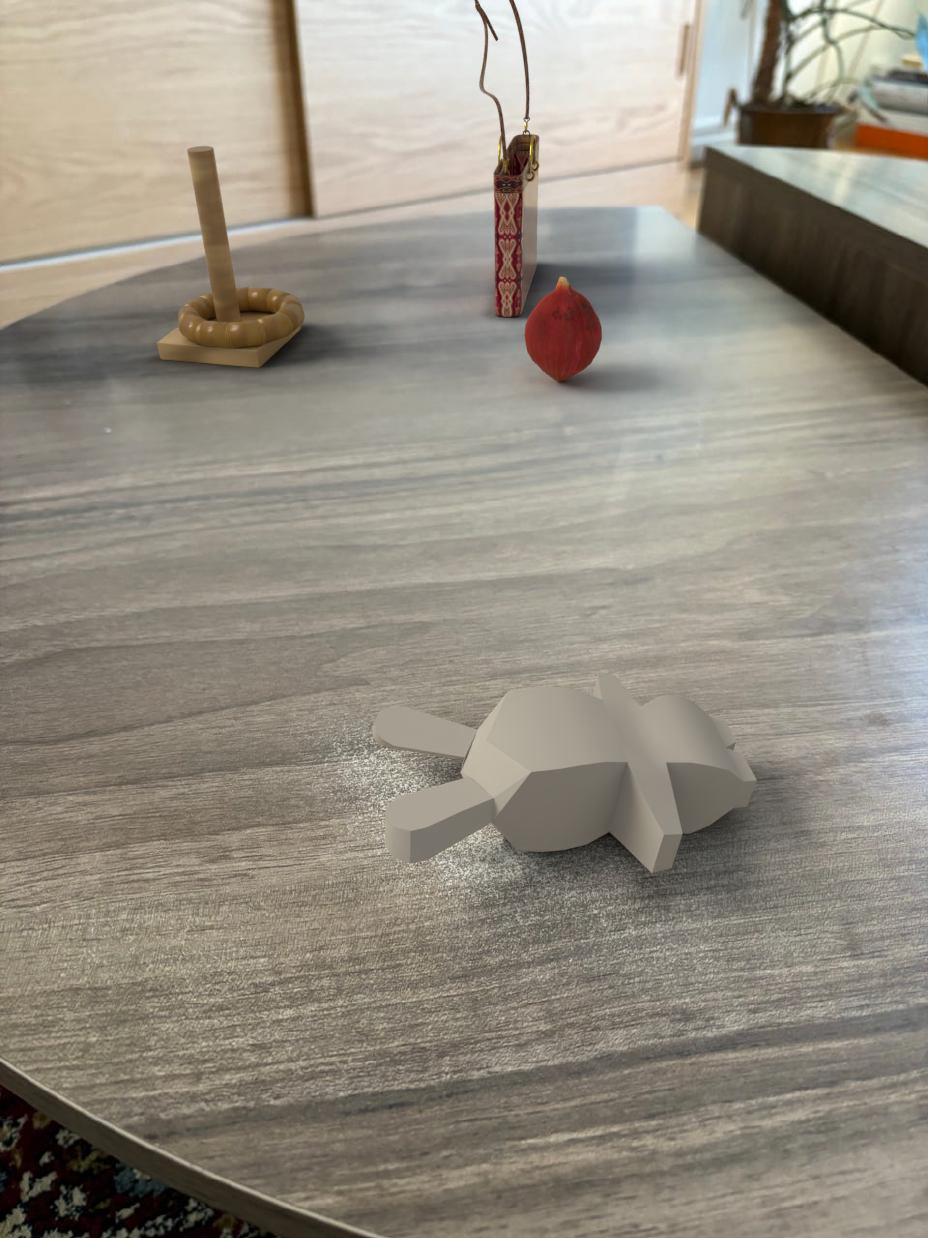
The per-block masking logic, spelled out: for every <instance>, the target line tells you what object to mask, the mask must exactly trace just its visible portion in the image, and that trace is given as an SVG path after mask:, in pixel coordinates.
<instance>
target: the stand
mask: <svg viewBox="0 0 928 1238" xmlns="http://www.w3.org/2000/svg"><path fill="white" fill-rule="evenodd" d="M186 150H187V151H186V152H187V158H188V163H189V169H190V175H191V180H192V186H193V191H194V198H195V203H196V208H197V215H198V220H199V227H200V232H201V239H202V243H203V249H204V254H205V261H206V265H207V272H208V277H209V284H210V290H211V293H212V295H213V301H214V307H215V312H216V317H215V318H211V319H208V321H217V322H230V323H231V322H240V321H249V320H257V319H260V318H263V317H266V316H269V315H272V314H275V313H272V312H260V311H245V312H240V310H239V304H238V298H237V291H236V288H237V286H236V279H235V272H234V267H233V260H232V254H231V248H230V241H229V237H228V229H227V223H226V217H225V212H224V211H225V210H224V205H223V199H222V191H221V186H220V185H221V184H220V179H219V174H218V173H219V172H218V168H217V167H218V166H217V159H216V155H215V148H214V147H213V146H211V145H199V146H192V147H189V148H187V149H186ZM301 330H302V324H301V325H300V326H299V327H298V328H297V329H296V330H295V331H293V332H292V333H291V334H290V335H289V336H287V337H284V338H281V339H278V340H275V341H272V342H270V343H267V344H264V345H257V346H248V347H240V348H222V347H211V346H203V345H200V344H198V343H196V342H194V341H192V340H190V339H188V338H186V337H184V336H183V335H182V334H181V333H180V331H179V327H178V326H177V327H175V328H174V329H173V330H172V331H170V332H168V333H167V334H166V335H165V336H163V337H162V338H161V339H159V340H158V341H157V342H156V344H157V350H158V352H159V353H158V354H159V357H160V358H159V359H160V360H162V361H163V360H164V361H175V362H185V363H186V362H189V363H198V364H210V365H221V366H222V365H223V366H231V367H233V366H234V367H244V368H245V367H246V368H254V369H255V368H257V369H260V368H262V366H263V365H264V364H265V363H266V362H267V361H268V360H270V359H271V357H273V356H274V355H275V354H276V353H277V352H278V351H279V350H280V349H282V347H283V346H284V345H285V344H287V343H288V342H289V341H290V340H291V339H292V338H293V337H294V336H295V335H296V334H297V333H298V332H300V331H301Z"/></svg>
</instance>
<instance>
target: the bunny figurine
mask: <svg viewBox="0 0 928 1238" xmlns="http://www.w3.org/2000/svg"><path fill="white" fill-rule="evenodd" d="M593 688H594V689H593V693H592V694H590V693H588V692H586V691H583V690H581V689H576V688H569V687H561V686H530V687H524V688H517V689H512V690H508V691H506V693H504V695H503V697H502V698H501V700H499V702H498V703H497V704H496V706H495V707H494V708H493V709H492V711H491V712H490V713H489V715H488V716H487V717H486V718H485V720H484V721H483V722H482V723H481V725H479V727H478V728H477V729H476V728H473V727H471V726H468V725H465V724H461V723H458V722H455V721H453V720H449V719H446V718H443V717H440V716H436V715H433V714H430V713H427V712H423V711H421V710H417V709H413V708H411V707H405V706H399V705H394V704H393V705H391V706H388V707H385V708H384V709H382V710H380V711H379V712H378V714H377V716H376V718H375V720H374V721H373V726H372V732H371V733H372V737H373V739H374V740H375V742H376V743H377V744H378V745H379V746H382V747H385V748H389V749H391V750H397V751H402V752H403V751H404V752H410V753H417V754H424V755H429V756H435V757H441V758H448V759H454V760H459V761H462V763H461V768H460V775H461V776H462V777H461V778H459V779H456V780H452V781H449V782H445V783H442V784H439V785H435V786H431V787H427V788H424V789H421V790H417V791H413V792H409V793H406V794H402V795H399V796H398V797H396V798H395V799H393V800H392V801H390V802H388V804H387V806H386V808H385V811H384V820H385V821H384V846H385V848H386V850H387V851H388V853H389V854H390V855H391V856H392V858H393V859H395V860H398V861H401V862H405V863H407V864H409V865H411V864H416V863H419V862H423V861H428V860H430V859H432V858H433V857H436V856H437V855H439V854H440V853H442V852H444V851H445V850H447V849H449V848H452V847H453V846H454V845H456V844H458V843H459V842H462V841H463V840H465V839H467V838H468V837H470V836H471V835H473V834H474V833H477V832H478V831H480V830H482V829H483V828H485V827H487V826H488V825H490V824H492V825H493V826H494V827H495V829H496V830H498V832H499V833H500V834H501V835H503V837H504V838H505V839H506V841H507V842H508V843H509V844H510V845H512V847H513V848H514V849H515V850H516V851H520V852H521V851H523V852H535V853H544V852H557V851H565V850H569V849H573V848H578V847H582V846H587V845H589V844H590V843H593V842H594V841H595V840H597V839H599V838H601V837H603V836H605V835H606V834H608V833H610V834H611V835H612V836H613V837H614V838H615V839H616V840H617V841H618V842H620V844H622V846H624V847H625V849H626V850H628V851H629V852H630V853H631V855H633V856H634V857H635V858H636V859H637V860H638V861H639V862H640V863H641V864H642V865H643V866H644V867H645V868H646V869H647V870H648V871H649V872H650V873H651V874H653V873H658V872H662V871H666V870H670V869H672V868H673V865H674V863H675V860H676V856H677V853H678V850H679V847H680V844H681V840H682V837H683V834H687V835H690V834H692V833H695V832H697V831H700V830H702V829H704V828H706V827H709V826H711V825H712V824H714V823H715V822H717V821H718V820H719V819H721V818H722V817H723V816H725V815H726V814H728V813H729V812H730V811H732V810H733V809H737V808H738V809H739V808H748V805H749V803H750V800H751V799H752V795H753V793H754V789H755V786H756V785H757V781H758V780H757V778H756V775H755V774H754V772H753V770H752V769H751V766H750V765H749V763H748V761H747V759H746V757H745V756H744V754H743V752H741V751H738V750H734V749H735V746H736V745H737V744H736V743H737V740H736V738H735V736H734V735H733V733H732V730H731V729H730V727H729V726H728V723H727V722H726V720H725V717H724V716H723V715H722V716H721V715H720V716H718V715H717V716H713V715H712V716H710V715H709V714H708V713H706V712H705V710H704V709H702V708H701V707H700V706H699V705H698V704H697V703H696V702H695V701H693V700H690V699H688V698H686V697H684V696H682V695H680V694H677V693H676V694H664V695H663V694H662V695H658V696H656V697H655V698H653V699H651V700H650V701H649V700H648V702H646V703H644V704H642V705H641V704H640V703H639V702H638V701H637V700H636V699H635V697H634V696H633V695H632V694H631V693H630V691H629V690H628V689H627V687H625V685H624V684H623V683H622V682H621V681H620V679H619V678H618V677H617V675H615V674H611V673H605V672H604V673H603V672H599V671H598V672H597V675H596V679H595V683H594V687H593Z"/></svg>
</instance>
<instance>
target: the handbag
mask: <svg viewBox="0 0 928 1238" xmlns="http://www.w3.org/2000/svg"><path fill="white" fill-rule="evenodd" d="M508 2H509V5H510V7H511V9H512V13H513V15H514V20H515V23H516V28H517V32H518V36H519V42H520V46H521V47H520V48H521V54H522V60H523V61H522V62H523V69H524V79H525V115H524V117H523V122H524V123H523V124H524V125H523V126H524V130H523V131H522V134H516V135H514V136H513V137H512V139H511V140H510V143H509V144H508V146H507V142H506V132H505V123H504V122H505V121H504V116H503V109H502V105H501V103H500V101H499V99H498V98H497V97H496V96H495V95H494V94H492V93H490V92H488V91H487V90H486V89H485V86H484V85H485V83H484V82H485V75H486V69H487V60H488V53H489V52H488V50H489V30H490V32H491V35H492V37H493V39H494V40H495V42H498V41H499V37H498V35H497V33H496V32H495V30H494V27H493V24H492V23H491V20H490V19H489V17H488V15H487V13H486V12H485V11H484V9H483V8H482V6H481V3H480V1H479V0H474V7H475V10H476V12H477V13H478V14H479V16H480V18H481V21H482V24H483V30H484V48H483V49H484V51H483V59H482V65H481V66H482V67H481V69H480V70H481V71H480V76H479V83H478V87H479V90H480V92H482V93H483V94H484V95H487V96H488V97H490V98H491V99H492V100H493V101H494V103H495V106H496V108H497V113H498V119H499V128H500V136H499V138H498V149H497V165H496V167H495V168H494V171H493V174H492V177H493V222H494V223H493V226H494V228H493V229H494V231H493V232H494V234H493V235H494V314H495V315H496V316H498V317H501V318H502V317H503V318H504V317H505V318H516V317H520V316H521V315H522V313H523V312H524V308H525V304H526V301H527V298H528V295H529V291H530V288H531V285H532V282H533V279H534V276H535V273H536V270H537V266H538V210H539V209H538V206H539V205H538V204H539V168H540V163H539V162H540V135H538V134H533V133H532V134H531V132H530V131H529V130H528V127H529V122H530V120H531V118H530V73H529V61H528V54H527V48H526V47H527V46H526V41H525V34H524V29H523V25H522V21H521V17H520V14H519V13H520V12H519V10H518V7H517V5H516V3H515V0H508ZM501 153H502V154H501ZM501 155H502V157H501Z"/></svg>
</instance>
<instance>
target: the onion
mask: <svg viewBox="0 0 928 1238" xmlns="http://www.w3.org/2000/svg"><path fill="white" fill-rule="evenodd" d="M523 335H524V341H525V347H526V352H527V354H528V356H529V357H530V359H531V360H532V362H533V363H534V364H535V365H537V367H538V368H539V369H540V370H541V371H542V372H544V373H545V374H546V375H547V376H548V377H550V378H551V379H553V380H554V381H555V382H556V383H557V382H558V383H561V382H565V381H567V380H569V379H570V378H572V377H574V376H575V375H577V374H579V373H581V372H582V371H584V370H585V369H586V368H588V367H589V366H590V365H591V364H592V363H593V361H594V359H595V357H596V356H597V354H598V353H599V351H600V348H601V344H602V341H603V340H602V339H603V327H602V324H601V320H600V318H599V316H598V314H597V312H596V311H595V309H594V307H593V305H592V303H591V302H590V301H589V300H588V298H587V297H586V296H584V295H583V294H582V293H580V292H579V291H577V290H575V288H574V287H573V286H572V284H570V282H569V280H568V278H567V277H565V276H559V277H558V281H557V283H556V284H555V289H554V290H553V291H551V292H550V293H548V294H547V295H545V296H544V297H543V298H542V299H540V301H539V302H537V304H536V305H535V307H534V308H533V309H532V310H531V312H530V314H529V315H528V317H527V320H526V323H525V326H524V334H523Z"/></svg>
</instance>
